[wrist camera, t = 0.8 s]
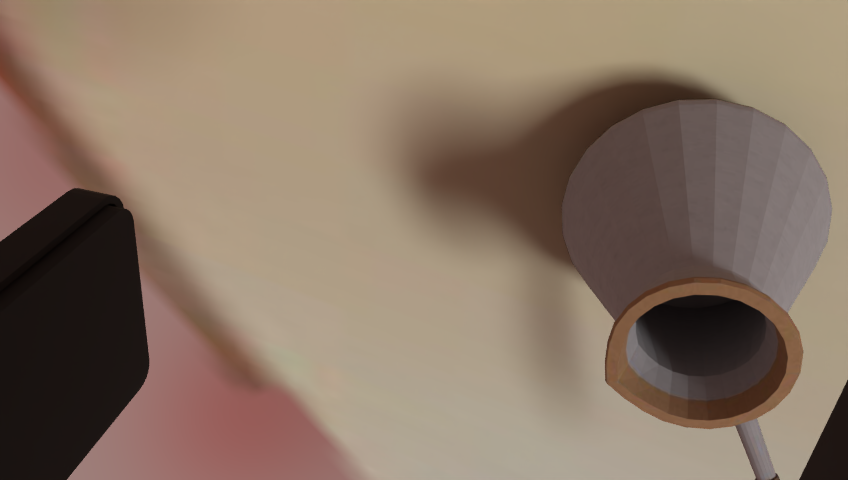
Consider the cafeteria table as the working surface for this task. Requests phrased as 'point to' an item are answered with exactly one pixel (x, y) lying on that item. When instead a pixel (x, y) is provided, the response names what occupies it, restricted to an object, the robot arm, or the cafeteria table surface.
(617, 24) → the cafeteria table surface
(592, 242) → the coffee pot
